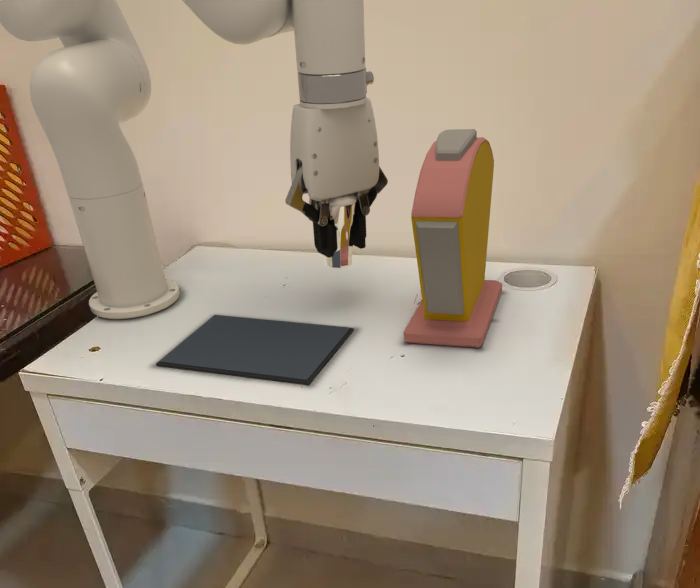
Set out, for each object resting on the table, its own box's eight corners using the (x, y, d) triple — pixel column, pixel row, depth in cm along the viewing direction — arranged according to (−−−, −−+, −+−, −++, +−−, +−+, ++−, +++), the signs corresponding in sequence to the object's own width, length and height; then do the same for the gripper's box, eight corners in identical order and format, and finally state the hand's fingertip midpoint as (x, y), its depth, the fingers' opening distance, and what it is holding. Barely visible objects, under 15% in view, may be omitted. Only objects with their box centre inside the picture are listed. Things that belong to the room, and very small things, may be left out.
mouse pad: (156, 365, 86) (155, 362, 86) (214, 317, 96) (213, 313, 96) (308, 385, 79) (308, 381, 79) (354, 330, 90) (353, 326, 89)
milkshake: (359, 271, 90) (359, 188, 84) (317, 269, 91) (314, 186, 85) (365, 259, 94) (366, 179, 88) (325, 257, 95) (323, 177, 89)
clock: (437, 281, 100) (436, 112, 88) (505, 284, 97) (513, 110, 85) (397, 354, 83) (388, 157, 71) (477, 360, 81) (483, 157, 68)
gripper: (375, 75, 86) (378, 228, 97) (250, 95, 79) (268, 257, 90) (412, 82, 81) (412, 243, 92) (282, 104, 74) (298, 274, 85)
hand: (341, 248), depth 91 cm, fingers closed on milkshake, 4 cm apart
